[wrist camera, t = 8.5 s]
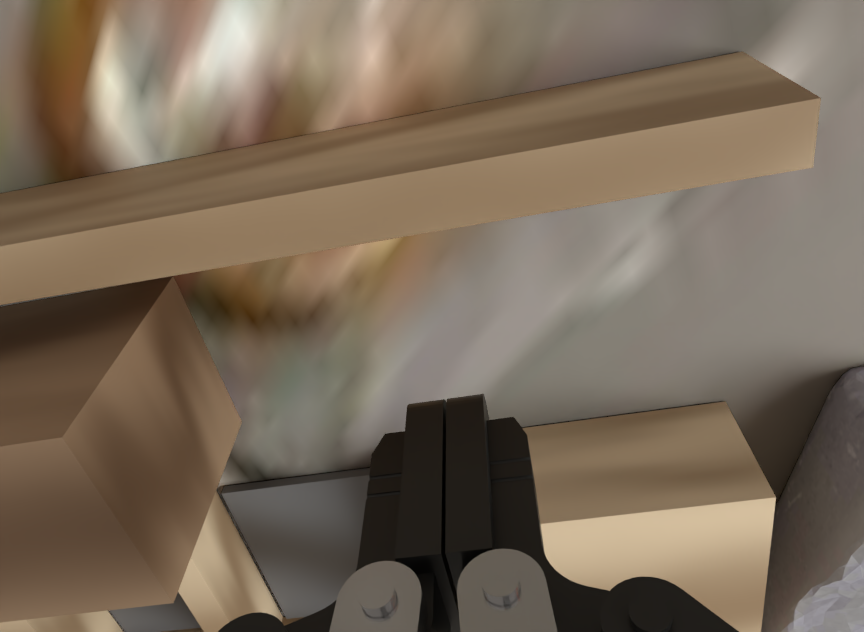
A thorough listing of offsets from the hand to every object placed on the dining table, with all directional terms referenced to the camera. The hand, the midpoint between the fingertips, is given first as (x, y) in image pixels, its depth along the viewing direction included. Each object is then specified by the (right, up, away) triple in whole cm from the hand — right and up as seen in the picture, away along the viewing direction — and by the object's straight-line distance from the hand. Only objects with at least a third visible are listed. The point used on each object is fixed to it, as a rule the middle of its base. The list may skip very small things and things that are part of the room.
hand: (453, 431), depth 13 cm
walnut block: (-10, +1, +6) cm, 12 cm away
